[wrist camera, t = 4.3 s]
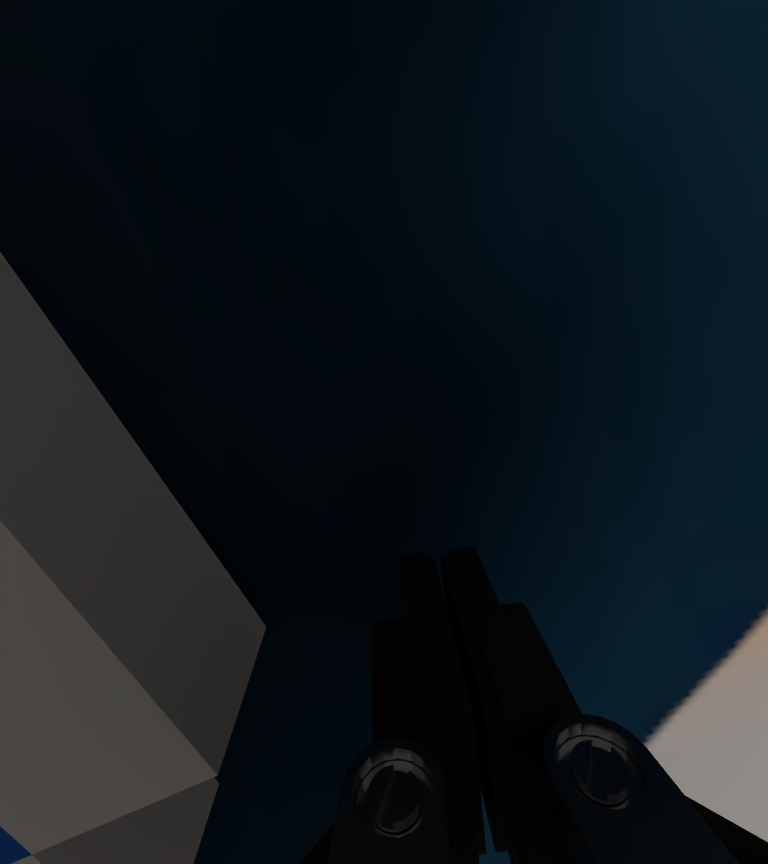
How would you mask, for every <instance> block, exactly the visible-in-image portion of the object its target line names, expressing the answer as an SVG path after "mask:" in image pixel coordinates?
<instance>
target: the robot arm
mask: <svg viewBox="0 0 768 864" xmlns="http://www.w3.org/2000/svg"><path fill="white" fill-rule="evenodd" d="M400 562H401V571H402V579H403V587H404V595H405V603H406V612H407V617H406V618H398V619H390V620H383V621H375V622H372V713H373V744H372V745H370V746H368V747H367V748H366V749H365V750H364V751H363V752H361V753H360V754H359V755H358V756H357V757H356V758H355V760H354V761H353V763H352V764H351V766H350V767H349V769H348V770H347V773H346V776H345V779H344V782H343V785H342V788H341V793H340V798H339V804H338V809H337V814H336V819H335V823H334V824H333V825H332V826H331V828H330V829H329V830H328V831H327V832H326V834H325V835H324V836H323V837H322V838H321V840H320V841H319V842H318V843H317V844H316V846H315V847H314V848H313V849H312V850H311V852H310V853H309V854H308V855H307V856H306V858H305V859H304V860H303V861H302V862H301V864H479V856H478V855H482V854H486V846H485V835H484V824H483V813H482V801H481V791H482V796H483V800H484V804H485V809H486V813H487V817H488V821H489V826H490V830H491V834H492V839H493V843H494V847H495V850H496V852H505V851H508V853H509V857H510V861H511V864H768V842H766V841H764V840H763V839H761V838H759V837H757V836H756V835H754V834H752V833H750V832H748V831H747V830H745V829H743V828H741V827H739V826H738V825H736V824H734V823H733V822H731V821H729V820H727V819H725V818H724V817H722V816H720V815H718V814H716V813H715V812H713V811H711V810H710V809H708V808H706V807H704V806H702V805H701V804H699V803H697V802H695V801H694V800H692V799H690V798H688V797H687V796H685V795H684V794H683V793H682V792H681V790H680V789H679V788H678V786H677V785H676V784H675V783H674V781H673V780H672V779H671V778H670V776H669V775H668V774H667V773H666V772H665V770H664V769H663V768H662V766H661V765H660V764H659V763H658V761H657V760H656V759H655V758H654V757H653V755H652V754H651V753H650V751H649V750H648V749H647V748H646V747H645V746H644V745H643V744H642V743H641V742H640V741H639V740H638V739H637V738H636V737H635V736H634V735H633V734H632V733H631V732H629V731H628V730H626V729H625V728H623V727H622V726H620V725H619V724H617V723H615V722H613V721H610V720H608V719H605V718H603V717H600V716H595V715H588V714H582V712H581V710H580V708H579V707H578V705H577V703H576V701H575V699H574V697H573V695H572V693H571V691H570V689H569V688H568V686H567V684H566V682H565V680H564V678H563V676H562V674H561V672H560V670H559V669H558V667H557V665H556V663H555V661H554V659H553V657H552V655H551V653H550V651H549V650H548V648H547V646H546V644H545V642H544V640H543V638H542V636H541V634H540V633H539V631H538V629H537V627H536V625H535V623H534V621H533V619H532V617H531V615H530V614H529V612H528V610H527V608H526V607H525V605H524V604H523V603H513V604H505V605H500V604H499V602H498V599H497V597H496V595H495V592H494V590H493V588H492V586H491V583H490V581H489V579H488V577H487V574H486V572H485V570H484V568H483V565H482V563H481V561H480V559H479V556H478V554H477V552H476V550H475V548H474V546H469V547H462V548H454V549H449V556H444V557H441V566H442V575H443V585H444V595H445V599H444V595H443V591H442V588H441V584H440V580H439V576H438V572H437V568H436V564H435V561H434V558H429V559H425V558H424V553H416V554H408V555H401V556H400ZM480 787H481V790H480Z"/></svg>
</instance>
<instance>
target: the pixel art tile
mask: <svg viewBox="0 0 768 864" xmlns="http://www.w3.org/2000/svg"><path fill="white" fill-rule="evenodd" d="M265 630H266V626H265V624H264V623H263V621H262V620H261V618H260V617H259V616H258V614H257V613H256V611H255V610H254V609H253V607H252V606H251V604H250V603H249V602H248V600H247V599H246V597H245V596H244V595H243V593H242V592H241V590H240V589H239V587H238V586H237V585H236V583H235V582H234V580H233V579H232V578H231V576H230V575H229V573H228V572H227V571H226V569H225V568H224V566H223V565H222V564H221V562H220V561H219V559H218V558H217V556H216V555H215V554H214V552H213V551H212V549H211V548H210V547H209V545H208V544H207V542H206V541H205V540H204V538H203V537H202V535H201V534H200V533H199V531H198V530H197V528H196V527H195V526H194V524H193V523H192V521H191V520H190V518H189V517H188V516H187V514H186V513H185V511H184V510H183V509H182V507H181V506H180V504H179V503H178V502H177V500H176V499H175V497H174V496H173V495H172V493H171V492H170V490H169V489H168V487H167V486H166V485H165V483H164V482H163V480H162V479H161V478H160V476H159V475H158V473H157V472H156V471H155V469H154V468H153V466H152V465H151V464H150V462H149V461H148V459H147V458H146V456H145V455H144V454H143V452H142V451H141V449H140V448H139V447H138V445H137V444H136V442H135V441H134V440H133V438H132V437H131V435H130V434H129V433H128V431H127V430H126V428H125V427H124V426H123V424H122V423H121V421H120V420H119V418H118V417H117V416H116V414H115V413H114V411H113V410H112V409H111V407H110V406H109V404H108V403H107V402H106V400H105V399H104V397H103V396H102V395H101V393H100V392H99V390H98V389H97V387H96V386H95V385H94V383H93V382H92V380H91V379H90V378H89V376H88V375H87V373H86V372H85V371H84V369H83V368H82V366H81V365H80V364H79V362H78V361H77V359H76V358H75V356H74V355H73V354H72V352H71V351H70V349H69V348H68V347H67V345H66V344H65V342H64V341H63V340H62V338H61V337H60V335H59V334H58V333H57V331H56V330H55V328H54V327H53V326H52V324H51V323H50V321H49V320H48V318H47V317H46V316H45V314H44V313H43V311H42V310H41V309H40V307H39V306H38V304H37V303H36V302H35V300H34V299H33V297H32V296H31V295H30V293H29V292H28V290H27V289H26V287H25V286H24V285H23V283H22V282H21V280H20V279H19V278H18V276H17V275H16V273H15V272H14V271H13V269H12V268H11V266H10V265H9V264H8V262H7V261H6V259H5V258H4V256H3V255H2V254H1V252H0V864H194V860H195V857H196V854H197V851H198V848H199V845H200V842H201V838H202V835H203V832H204V829H205V826H206V823H207V820H208V817H209V813H210V810H211V807H212V804H213V801H214V798H215V795H216V791H217V788H218V785H219V782H218V781H217V780H216V779H215V778H214V777H215V776H218V773H219V770H220V767H221V764H222V761H223V758H224V755H225V752H226V749H227V746H228V743H229V740H230V737H231V734H232V730H233V727H234V724H235V721H236V718H237V715H238V712H239V709H240V706H241V703H242V700H243V697H244V694H245V691H246V688H247V685H248V682H249V679H250V675H251V672H252V669H253V666H254V663H255V660H256V657H257V654H258V651H259V648H260V645H261V642H262V639H263V636H264V633H265Z"/></svg>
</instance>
